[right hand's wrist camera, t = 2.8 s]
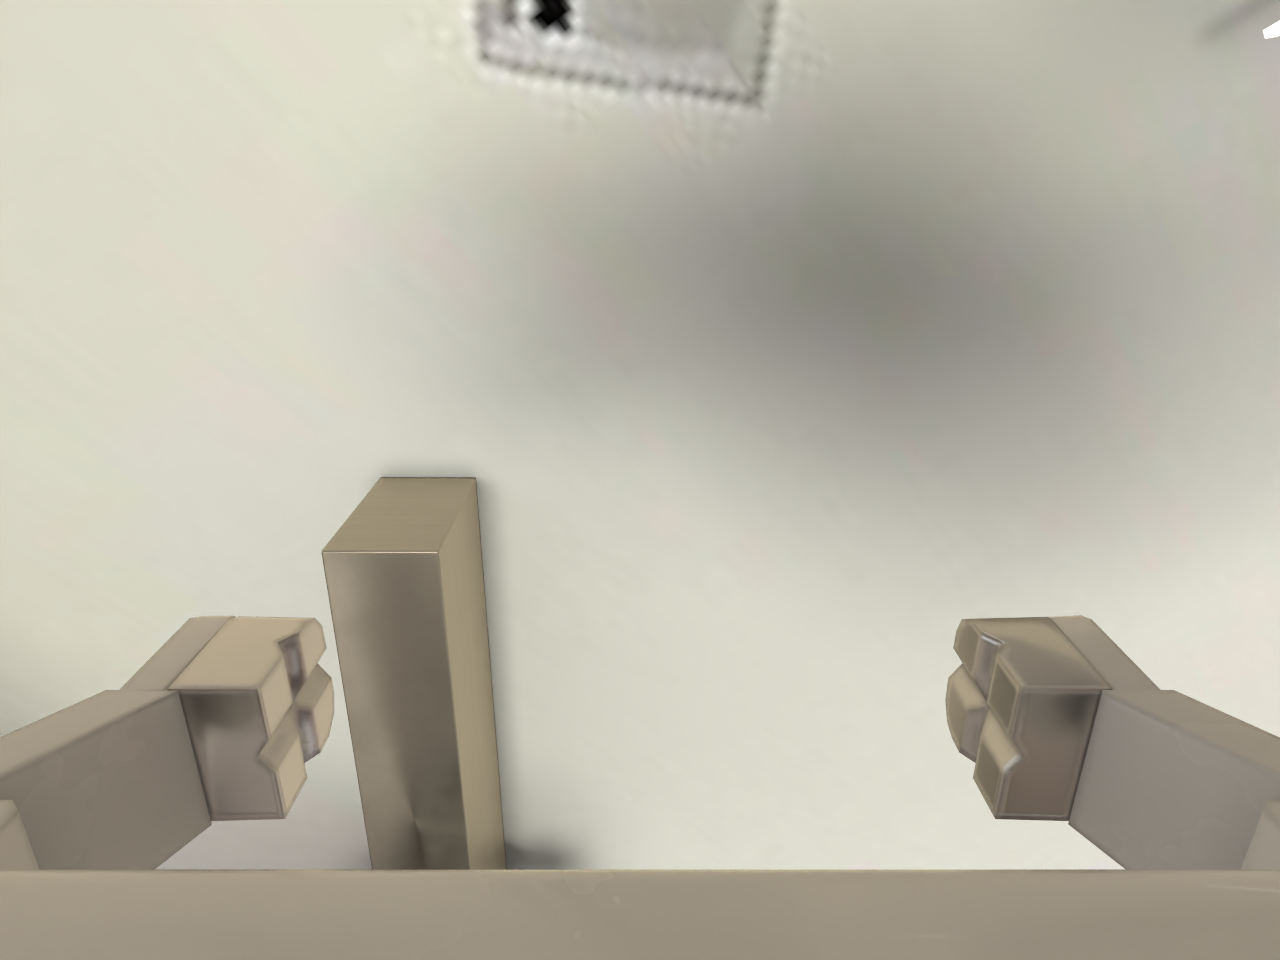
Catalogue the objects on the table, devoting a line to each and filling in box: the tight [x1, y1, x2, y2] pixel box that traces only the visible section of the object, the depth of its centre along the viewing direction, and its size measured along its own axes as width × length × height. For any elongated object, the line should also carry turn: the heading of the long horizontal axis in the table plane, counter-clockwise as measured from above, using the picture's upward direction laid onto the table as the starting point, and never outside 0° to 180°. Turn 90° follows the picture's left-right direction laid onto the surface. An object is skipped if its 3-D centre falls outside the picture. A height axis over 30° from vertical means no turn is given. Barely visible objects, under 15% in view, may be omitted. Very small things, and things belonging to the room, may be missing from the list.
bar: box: [322, 478, 506, 870], centre depth 42 cm, size 28×5×8 cm, turn 0°
